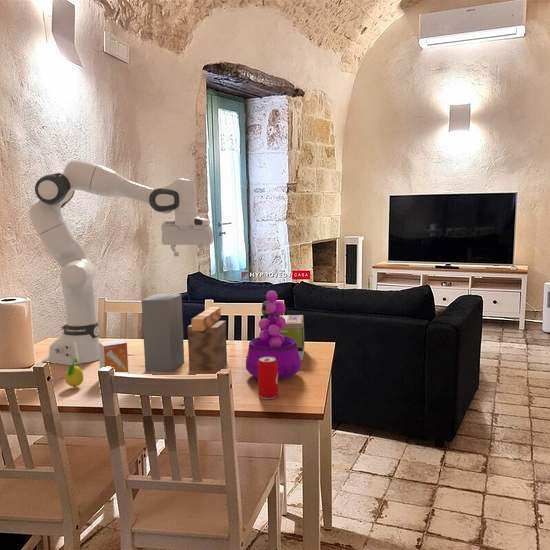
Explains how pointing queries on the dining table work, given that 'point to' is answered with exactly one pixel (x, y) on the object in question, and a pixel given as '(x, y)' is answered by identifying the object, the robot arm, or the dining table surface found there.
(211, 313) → the orange bar
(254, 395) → the dining table surface
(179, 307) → the charcoal stand
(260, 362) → the beverage can
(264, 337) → the decorative plant
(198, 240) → the robot arm
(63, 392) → the dining table surface
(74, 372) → the lemon
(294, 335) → the tea box
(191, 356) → the walnut pedestal
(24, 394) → the dining table surface
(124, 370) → the small box
